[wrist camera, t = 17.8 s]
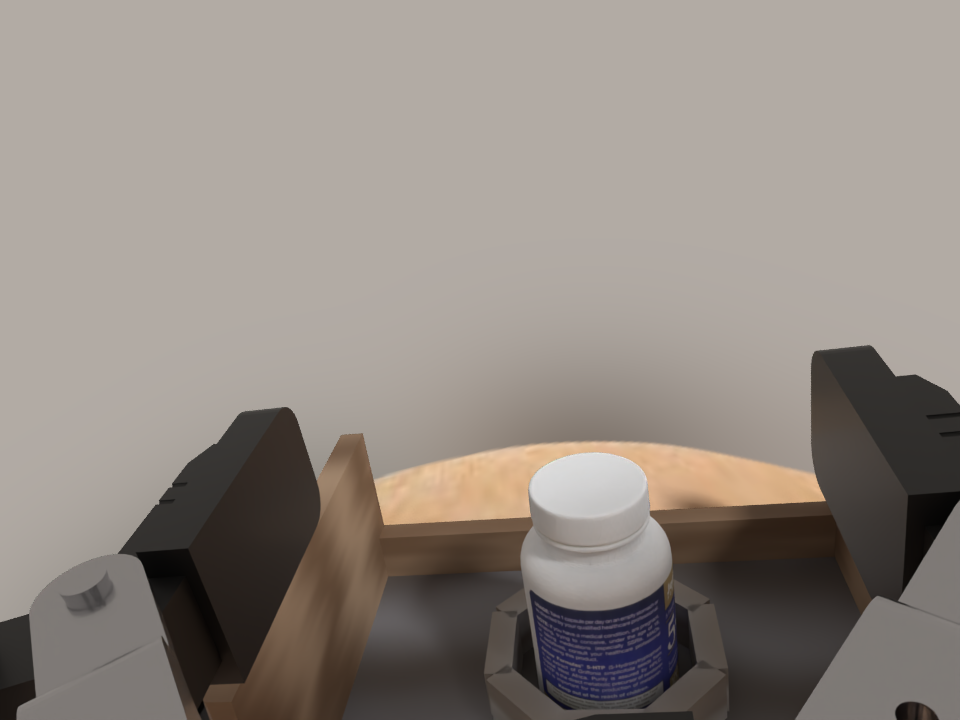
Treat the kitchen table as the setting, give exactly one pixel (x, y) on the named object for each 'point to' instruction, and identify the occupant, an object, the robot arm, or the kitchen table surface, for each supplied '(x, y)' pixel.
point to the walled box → (505, 619)
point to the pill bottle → (598, 585)
